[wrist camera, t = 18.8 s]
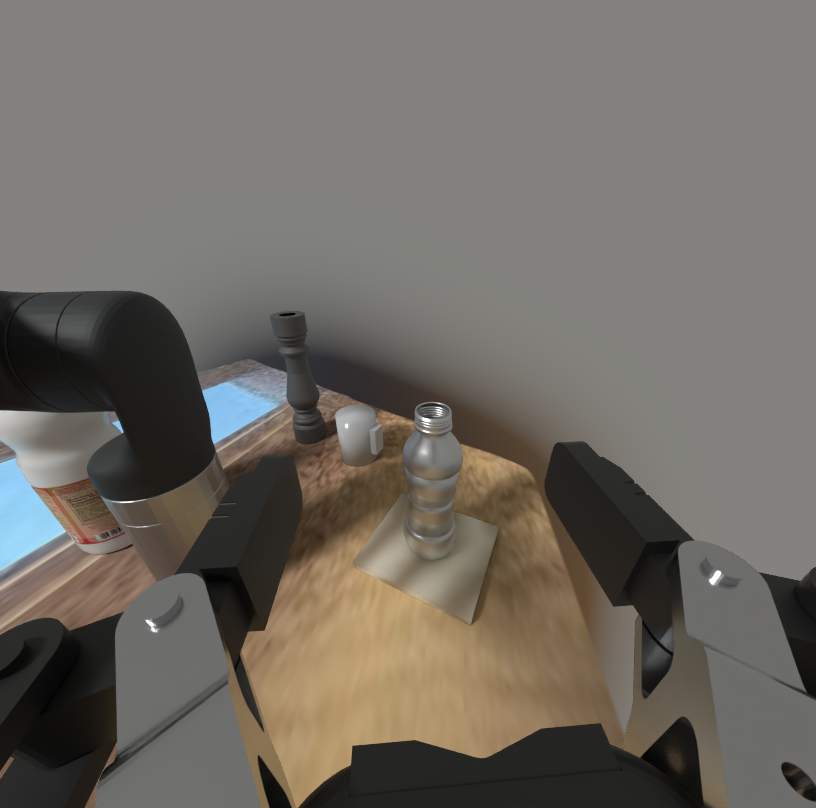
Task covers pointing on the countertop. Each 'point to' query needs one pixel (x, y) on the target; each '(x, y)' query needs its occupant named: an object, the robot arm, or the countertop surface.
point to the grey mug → (358, 435)
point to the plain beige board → (431, 562)
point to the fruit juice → (66, 471)
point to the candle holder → (299, 376)
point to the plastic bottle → (431, 482)
